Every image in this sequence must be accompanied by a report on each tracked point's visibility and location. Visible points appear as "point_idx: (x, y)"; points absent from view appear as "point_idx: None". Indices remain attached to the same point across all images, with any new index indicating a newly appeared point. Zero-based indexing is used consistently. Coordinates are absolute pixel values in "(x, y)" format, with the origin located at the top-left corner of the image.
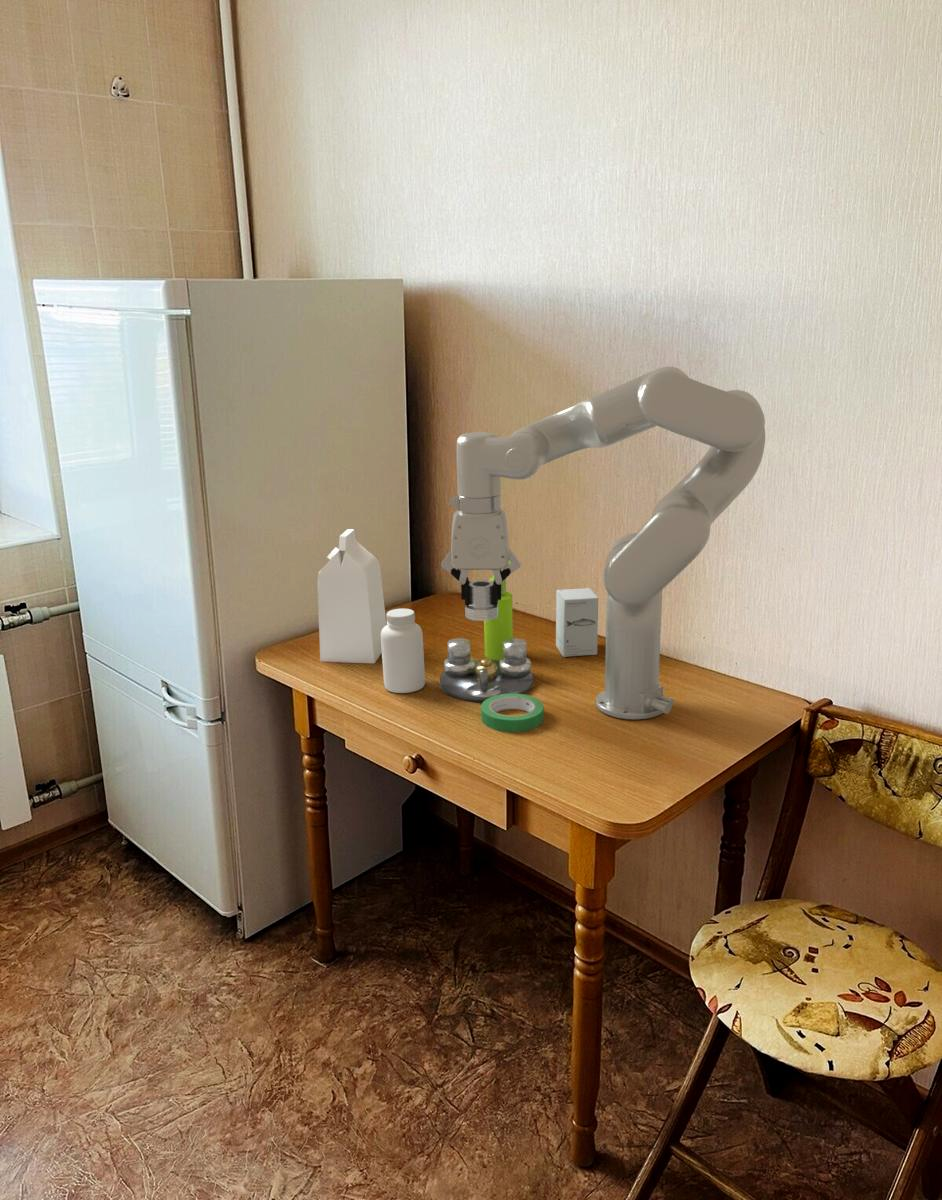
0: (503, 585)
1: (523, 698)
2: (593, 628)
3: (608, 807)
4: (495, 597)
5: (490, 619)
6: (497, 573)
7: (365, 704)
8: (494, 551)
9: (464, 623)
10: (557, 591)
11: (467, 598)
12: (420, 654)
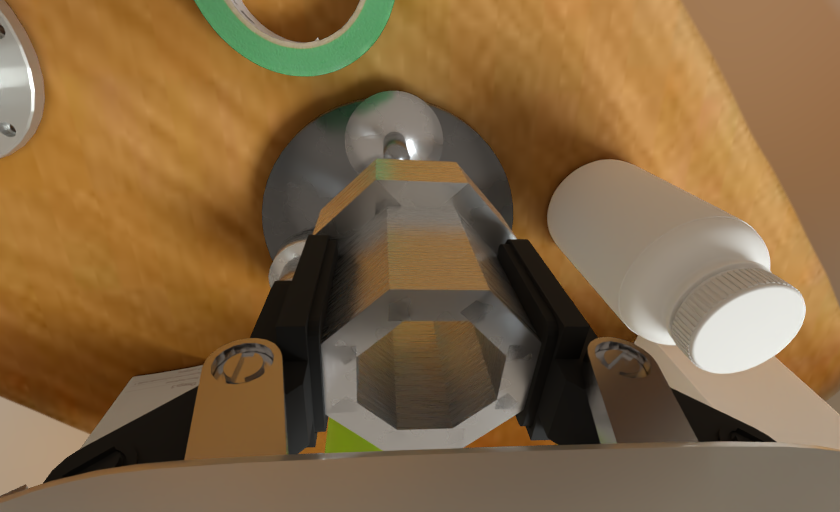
0: None
1: (259, 31)
2: (101, 431)
3: None
4: (310, 262)
5: (358, 175)
6: (227, 441)
7: (711, 93)
8: None
9: None
10: None
11: (524, 258)
12: (600, 226)
